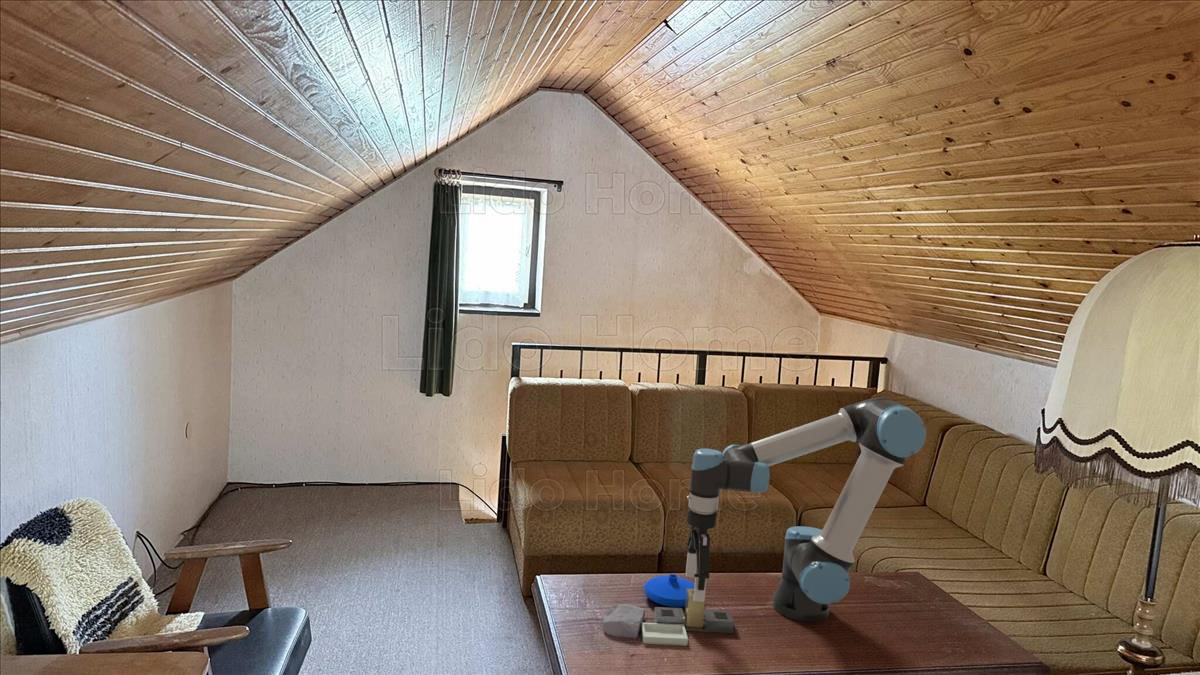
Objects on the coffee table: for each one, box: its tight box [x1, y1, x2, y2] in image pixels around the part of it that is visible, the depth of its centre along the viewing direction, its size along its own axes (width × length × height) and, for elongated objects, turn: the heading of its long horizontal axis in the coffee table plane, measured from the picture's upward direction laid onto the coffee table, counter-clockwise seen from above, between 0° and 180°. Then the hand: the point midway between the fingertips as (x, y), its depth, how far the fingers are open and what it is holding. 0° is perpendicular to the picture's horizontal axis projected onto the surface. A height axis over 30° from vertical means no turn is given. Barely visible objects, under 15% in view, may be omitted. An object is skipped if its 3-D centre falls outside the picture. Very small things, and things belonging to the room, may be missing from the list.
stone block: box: [602, 603, 646, 639], centre depth 186 cm, size 12×5×10 cm
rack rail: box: [653, 606, 735, 634], centre depth 189 cm, size 20×6×3 cm, turn 92°
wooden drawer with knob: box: [684, 589, 706, 630], centre depth 188 cm, size 4×4×9 cm
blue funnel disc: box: [643, 573, 695, 608], centre depth 202 cm, size 16×16×7 cm
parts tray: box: [640, 621, 689, 647], centre depth 182 cm, size 11×7×2 cm, turn 92°
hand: (694, 588), depth 188 cm, fingers open, 13 cm apart
